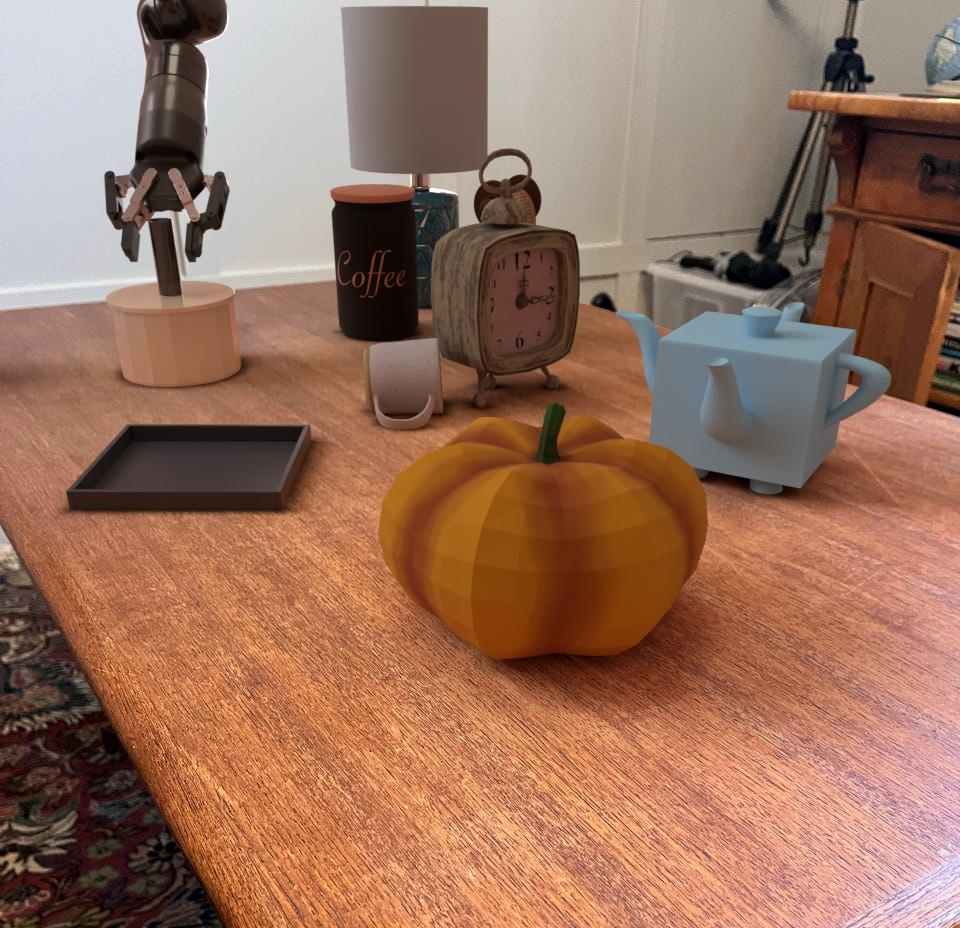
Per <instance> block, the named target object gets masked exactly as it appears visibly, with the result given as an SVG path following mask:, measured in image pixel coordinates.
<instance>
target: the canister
mask: <svg viewBox="0 0 960 928" xmlns="http://www.w3.org/2000/svg"><path fill="white" fill-rule="evenodd" d="M234 300H235V299H234ZM234 300H232V301H231V302H229V303H227V304H225V305H222V306H219V307H215V308H211V309H206V310H200V311H193V312H185V313H172V314H140V313H129V312H123V311H118V310H115V309H112V308H110V313H111V318H112V323H113V324H112V325H113V330H114V334H115V341H116V345H117V351H118V356H119V363H120V367H121V372H122V376H123V378H124V379H125V380H127V381H128V382H130V383H133V384H136V385H141V386H146V387H147V386H148V387H157V388H158V387H159V388H162V387H163V388H176V387H177V388H178V387H190V386H197V385H203V384H204V385H205V384H210V383H214V382H218V381H221V380H224V379H227V378H229V377H231V376H233V375H235V374H237V373H238V372H239V371H240V370H241V367H242V358H241V351H240V342H239V341H240V340H239V334H238V327H237V325H238V324H237V318H236V309H235V301H234Z"/></svg>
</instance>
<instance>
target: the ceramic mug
mask: <svg viewBox="0 0 960 928" xmlns="http://www.w3.org/2000/svg"><path fill="white" fill-rule="evenodd" d="M441 365H442V364H441V352H440V348H439V340H438V338H435V337H429V338H421V339H410V340H401V341H385V342H379V343H375V344H372V345H369V346H367V347H365V349H364V351H363V356H362V371H363V388H364V396H365V401H366V406H367V409H369V410H370V411H371V412H372V413H375V415H376V419H377V420H378V422H379V424H380V425H381V426H383V428H386V429H390V430H397V431H400V430H401V431H407V430H416V429H420V428H422V427H423V426H425V425H426V424H427V423H428V422H429V420H430V418H431V416H432V415H433V414H434V415H439V414H442V413H443V412H444V402H443V401H444V400H443V396H444V395H443V383H442V382H443V380H442V379H443V378H442V366H441ZM399 414H401V415H403V414H410V415H413V414H414V415H415V416H413V417H411V418H407V419H403V418H402V419H396V418H391V417H389V416H386V415H399Z"/></svg>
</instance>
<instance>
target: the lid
mask: <svg viewBox="0 0 960 928" xmlns="http://www.w3.org/2000/svg"><path fill="white" fill-rule="evenodd" d="M173 223H174V222H173V218H169V217H155V218H153V217H152V218H151V219H149V220H148V221H147V224H148V231H149V238H150V244H151V250H152V256H153V257H152V258H153V262H154V268H155V270H154V271H155V275H156V282H148V283H147V282H146V283H141V284H135V285H131V286H125V287H121V288H119V289H116V290H113V291H111V292H110V293H107V295H106V296H105V303H106V305H107V307H109V308H110V309H111V308H112V309H115V310H118V311H123V312H129V313H140V314H172V313H185V312H193V311H200V310H206V309H211V308H215V307H219V306H222V305H225V304H227V303H229V302H231V301H232V300H235V299H236V291H235V289H234V288H233V287H231V286H229V285H226V284H223V283H220V282H219V283H218V282H213V281H202V280H201V281H200V280H182V278H181V272H180V264H179V259H178V251H177V245H176V238H175V230H174V224H173Z"/></svg>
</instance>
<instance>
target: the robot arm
mask: <svg viewBox="0 0 960 928" xmlns="http://www.w3.org/2000/svg"><path fill="white" fill-rule="evenodd" d="M136 20H137V25H138V28H139V32H140V36H141V41H142V47H143V52H144V56H145V62H146V65H145V75H144V86H143V92H142V95H141V99H140V104H139V111H138V119H137V121H138V122H137V130H136V131H137V132H136V141H135V150H134V151H135V152H134V165H133V168H132V169H131V170H130V171H129V173H128V174H122V175H116V174H115V172H114V171H113V170H107V171H106V172H104V175H103V177H104V180H103V181H104V194H105V195H104V197H105V199H104V200H105V212H106V215H107V217H108V219H109V221H110V223H111V224H112V226H113V228H114V229H115V230H116V231H121V239H120V248H121V250H122V252H123V254H124V256H125V258H128V260H129V262H130V263H138V262H139V256H140V255H139V254H140V245H141V244H140V242H141V234H140V231H141V230H142V229H143V227H144V226H145V224H146V223H147V222H148V220H149V219H153V216H154V215H155V213H162V212H168V211H169V212H174V213H182V212H183V210H184V212H185V214H186V216H187V218H188V220H189V222H186V228H185V239H184V254H185V257H186V259H187V261H188V262H189V263H196V262H197V258H201V256H202V254H203V244H204V235H205V233H206V231H209V230H213V231H219V230H221V228H222V227H223V222H224V219H225V213H226V210H227V205H228V201H229V196H230V192H231V189H230V185H229V182H228V180H227V177H226V174H225V172H223V171H221V170H219V171H216V172H215V173H214V175H212V174H205V173H204V167H205V154H206V153H205V152H206V143H207V142H206V141H207V137H208V112H207V102H208V101H207V100H208V89H209V88H208V87H209V66H208V61H207V59H206V57H205V55H204V53H203V52H202V50H200V49H199V48H198V47H197V46H200V45H202V44H205V43H208V42H210V41H213V40H215V39H218V38H219V37H221V36H222V35H223V34H224V33H225V32H226V30H227V27H228V24H229V9H228V4H227V1H226V0H139V1H138V4H137V7H136ZM130 188H133V189H134V191H133V193H132V194H131V196H130V198H129V204H128V205H127V207H126V209H125V210H124V199H126V198H127V195H128V191H129V189H130ZM205 189H207V191H208V193H209V195H208V200H207V204H206V208H205V211H204V212H201V213H200V212H199V211H198V208H197V206H196V204H195V203H194V201H195V200H196V199H197V198H198V197H199V196H200V194H201V193H203V191H204V190H205Z"/></svg>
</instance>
